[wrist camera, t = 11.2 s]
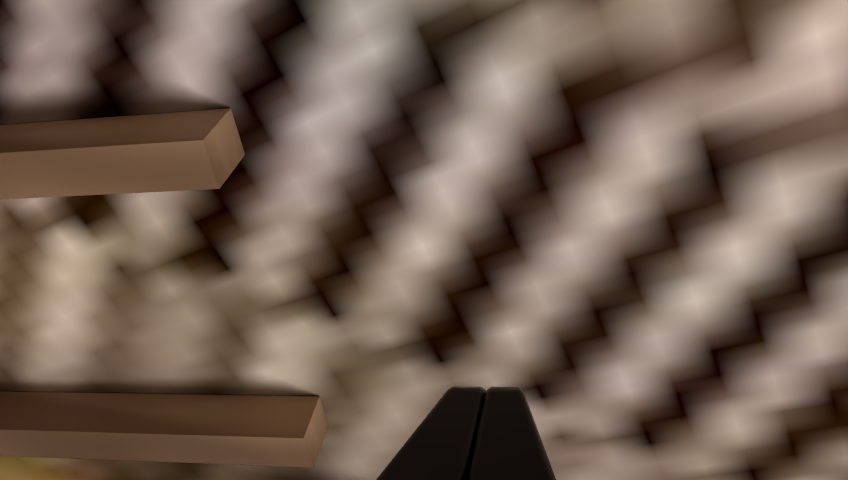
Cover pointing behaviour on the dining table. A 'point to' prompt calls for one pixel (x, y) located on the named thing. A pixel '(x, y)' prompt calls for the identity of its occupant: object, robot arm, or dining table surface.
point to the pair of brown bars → (143, 413)
